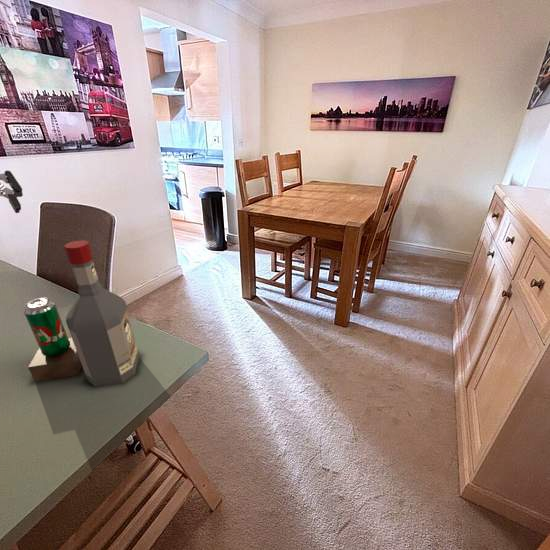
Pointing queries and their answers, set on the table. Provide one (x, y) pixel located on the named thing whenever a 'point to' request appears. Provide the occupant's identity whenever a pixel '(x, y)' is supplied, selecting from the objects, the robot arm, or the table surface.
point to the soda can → (47, 326)
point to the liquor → (99, 323)
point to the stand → (55, 364)
